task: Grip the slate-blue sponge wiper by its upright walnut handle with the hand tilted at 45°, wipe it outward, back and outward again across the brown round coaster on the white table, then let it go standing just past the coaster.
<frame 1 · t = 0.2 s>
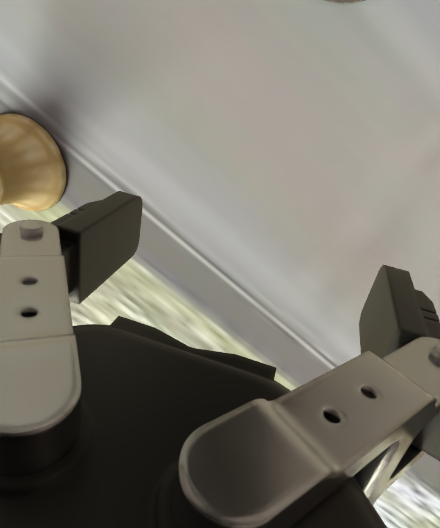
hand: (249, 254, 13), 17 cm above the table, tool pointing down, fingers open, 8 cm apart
hand bell: (26, 163, 35), on the table
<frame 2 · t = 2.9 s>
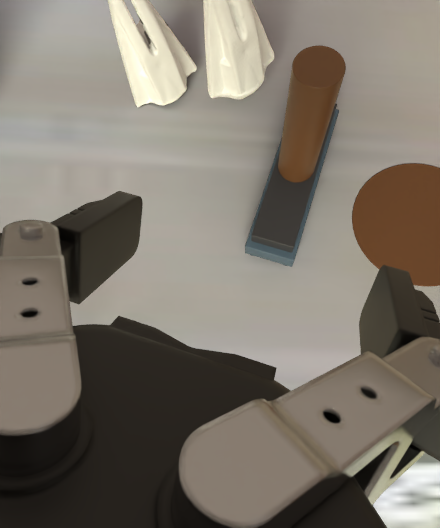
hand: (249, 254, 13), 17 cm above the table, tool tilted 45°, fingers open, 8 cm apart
shaker set: (204, 89, 36), on the table
brown round coaster: (419, 222, 31), on the table
sponge wiper: (291, 187, 32), on the table
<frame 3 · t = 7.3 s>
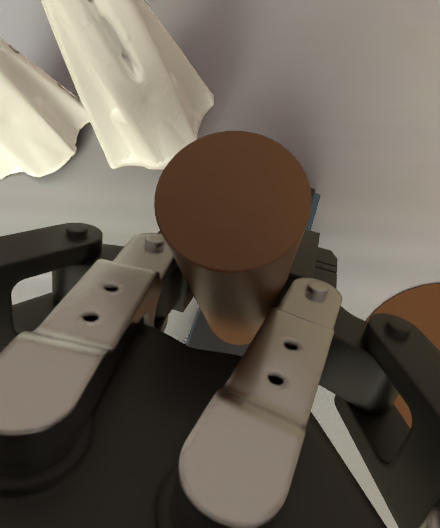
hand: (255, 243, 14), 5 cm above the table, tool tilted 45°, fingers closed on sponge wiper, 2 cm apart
shaker set: (108, 150, 22), on the table
sponge wiper: (240, 325, 19), on the table, touching gripper
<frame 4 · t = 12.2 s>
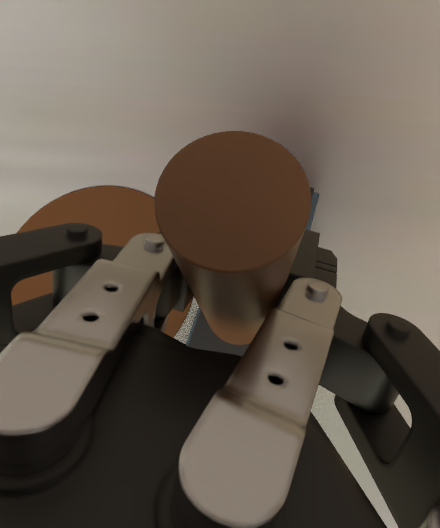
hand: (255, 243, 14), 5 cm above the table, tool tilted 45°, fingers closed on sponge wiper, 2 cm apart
brown round coaster: (95, 276, 20), on the table
sponge wiper: (240, 324, 19), on the table, touching gripper
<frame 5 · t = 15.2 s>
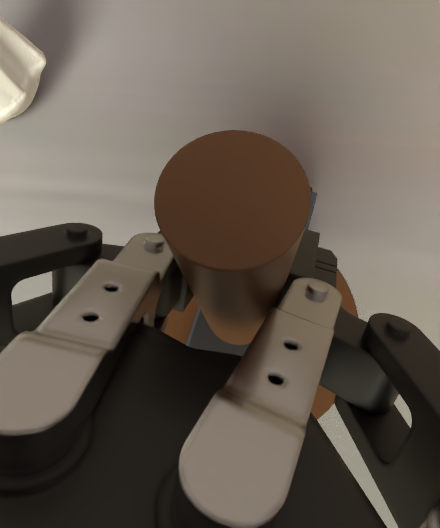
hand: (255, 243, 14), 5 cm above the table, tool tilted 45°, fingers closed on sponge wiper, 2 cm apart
brown round coaster: (249, 324, 19), on the table
sponge wiper: (240, 325, 19), on the table, touching gripper
when the fingers open (5 cm above the table, at t = 17.4 s): sponge wiper stays where it is, on the table.
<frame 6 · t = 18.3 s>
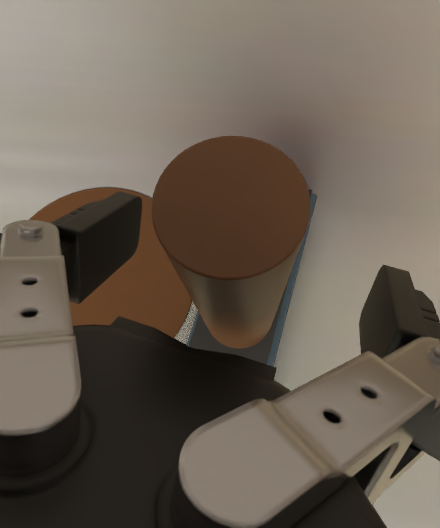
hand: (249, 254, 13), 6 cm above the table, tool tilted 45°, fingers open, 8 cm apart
brown round coaster: (94, 278, 20), on the table
sponge wiper: (240, 327, 19), on the table
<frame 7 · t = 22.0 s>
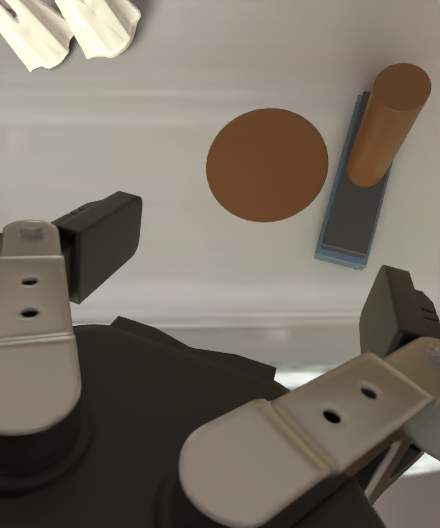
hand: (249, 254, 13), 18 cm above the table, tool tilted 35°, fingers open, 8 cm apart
shaker set: (87, 50, 39), on the table
brown round coaster: (265, 164, 33), on the table
sponge wiper: (357, 187, 32), on the table
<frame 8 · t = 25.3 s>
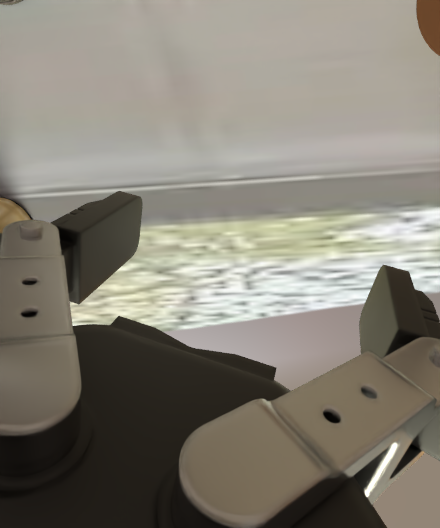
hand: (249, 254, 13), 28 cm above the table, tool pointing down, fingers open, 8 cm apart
hand bell: (10, 227, 52), on the table
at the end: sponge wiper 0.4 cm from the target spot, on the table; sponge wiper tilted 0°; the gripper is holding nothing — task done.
